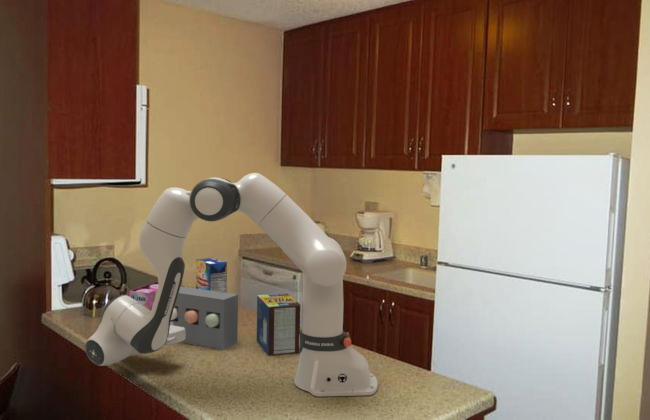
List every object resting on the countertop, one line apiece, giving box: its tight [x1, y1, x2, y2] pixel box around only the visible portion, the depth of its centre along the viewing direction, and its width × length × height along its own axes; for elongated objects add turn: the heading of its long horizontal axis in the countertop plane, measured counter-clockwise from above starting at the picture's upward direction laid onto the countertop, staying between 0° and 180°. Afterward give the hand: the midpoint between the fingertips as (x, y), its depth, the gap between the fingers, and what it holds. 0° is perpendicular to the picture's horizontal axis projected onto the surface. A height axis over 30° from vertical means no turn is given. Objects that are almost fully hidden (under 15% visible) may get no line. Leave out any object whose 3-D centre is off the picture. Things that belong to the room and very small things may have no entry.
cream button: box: [171, 306, 178, 320], centre depth 185 cm, size 4×4×4 cm
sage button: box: [205, 313, 220, 327], centre depth 178 cm, size 4×4×4 cm
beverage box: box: [195, 257, 228, 293], centre depth 209 cm, size 7×11×22 cm, turn 40°
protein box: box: [256, 292, 302, 356], centre depth 181 cm, size 10×15×16 cm
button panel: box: [170, 286, 239, 351], centre depth 185 cm, size 24×8×16 cm, turn 66°
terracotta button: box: [184, 309, 199, 324], centre depth 182 cm, size 4×4×4 cm
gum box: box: [128, 280, 183, 311], centre depth 206 cm, size 24×8×14 cm, turn 163°
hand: (169, 324), depth 171 cm, fingers closed
